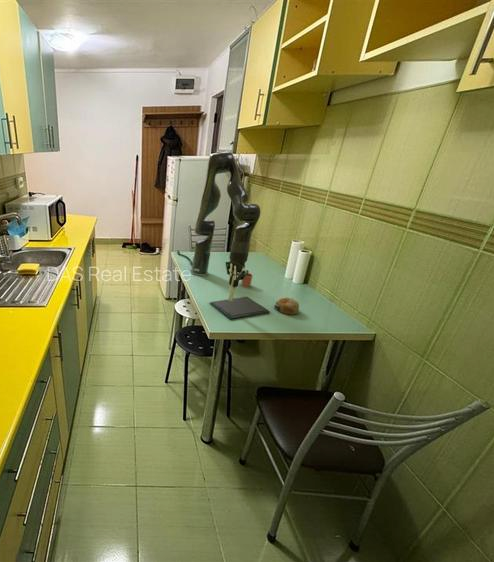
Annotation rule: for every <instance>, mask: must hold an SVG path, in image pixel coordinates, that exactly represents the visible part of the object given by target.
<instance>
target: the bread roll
mask: <svg viewBox="0 0 494 562" xmlns="http://www.w3.org/2000/svg"><path fill="white" fill-rule="evenodd" d="M274 308H275V309H276V310H277V311H278V312H280V313H281V314H285V315H291V316H292V315H293V316H294V315H298V314H299V310H300V305H299V302H298V301H297V300H296V299H294V298H291V297H283V298H280V299H279V300H277V301H275V305H274Z"/></svg>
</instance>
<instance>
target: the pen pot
mask: <svg viewBox="0 0 494 562" xmlns="http://www.w3.org/2000/svg"><path fill="white" fill-rule="evenodd" d="M253 277H254V275H253V274H252V273H250V272H248V274H247V275H246V276H245V278H244V279H243V280H241V283H240V286H242V287H244V288H250V287H251V285H252V282H253Z"/></svg>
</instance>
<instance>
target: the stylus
mask: <svg viewBox="0 0 494 562" xmlns="http://www.w3.org/2000/svg"><path fill="white" fill-rule="evenodd" d="M233 281H234V275H233V277H232V282H231V285H230V287H229V293H228V299H227V300H229V302H231V301H233V299H234V296H235V290H236V287H233Z"/></svg>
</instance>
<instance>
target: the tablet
mask: <svg viewBox="0 0 494 562" xmlns="http://www.w3.org/2000/svg"><path fill="white" fill-rule="evenodd" d="M209 305H211V306H212V307H214V308H215V309H216V310H218V312H220V313H221V314H222V315H224V316H225V317H226V318H227V319H229V320H237V319H244V318H248V317H254V316H260V315H266V314H270V312H271V311H270V310H269V309H267V308H266V307H264V306H262V305H261V304H260V303H258V302H256V301H254V300H253V299H251V298H250V297H248V296H242V297H235V298H234V297H233V301H231V302H229V300H228V299H222V300H216V301H210V302H209Z"/></svg>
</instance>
